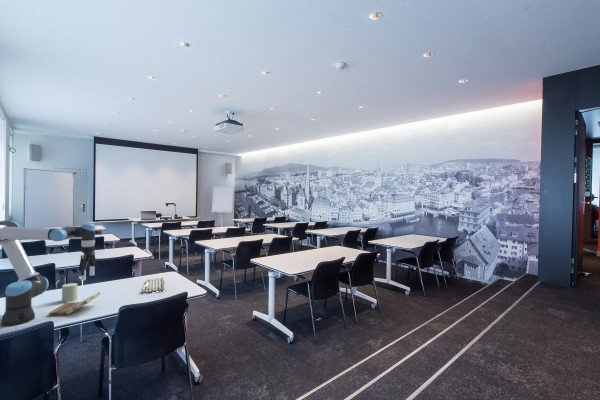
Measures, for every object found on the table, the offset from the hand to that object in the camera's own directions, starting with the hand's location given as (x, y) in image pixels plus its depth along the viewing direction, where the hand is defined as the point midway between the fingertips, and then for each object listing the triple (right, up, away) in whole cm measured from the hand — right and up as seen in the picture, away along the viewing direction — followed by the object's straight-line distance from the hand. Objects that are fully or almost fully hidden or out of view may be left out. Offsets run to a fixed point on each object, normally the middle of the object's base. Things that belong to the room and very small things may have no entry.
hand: (87, 277), depth 201 cm
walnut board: (-14, -22, -3) cm, 26 cm away
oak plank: (-2, -18, 0) cm, 18 cm away
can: (-26, -22, +17) cm, 37 cm away
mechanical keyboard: (+19, -23, +53) cm, 61 cm away
